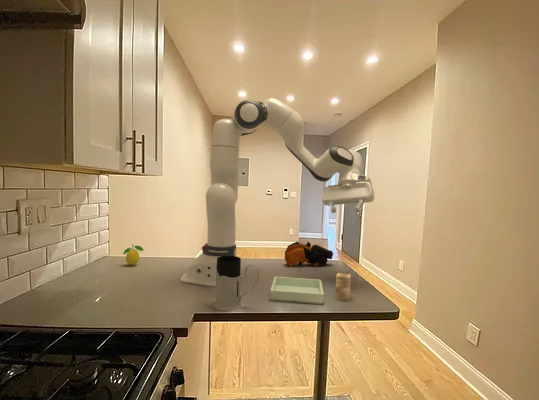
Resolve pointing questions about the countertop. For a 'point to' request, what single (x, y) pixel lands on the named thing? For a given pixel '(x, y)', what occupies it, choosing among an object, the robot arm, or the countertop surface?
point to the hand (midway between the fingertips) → (345, 211)
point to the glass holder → (229, 283)
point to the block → (343, 286)
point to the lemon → (132, 255)
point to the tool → (306, 254)
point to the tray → (297, 290)
